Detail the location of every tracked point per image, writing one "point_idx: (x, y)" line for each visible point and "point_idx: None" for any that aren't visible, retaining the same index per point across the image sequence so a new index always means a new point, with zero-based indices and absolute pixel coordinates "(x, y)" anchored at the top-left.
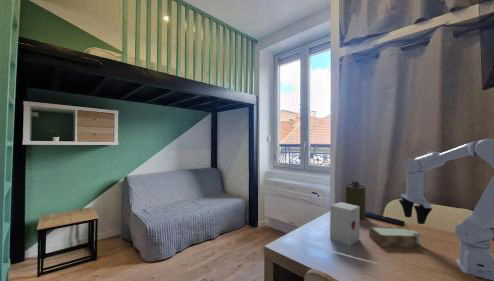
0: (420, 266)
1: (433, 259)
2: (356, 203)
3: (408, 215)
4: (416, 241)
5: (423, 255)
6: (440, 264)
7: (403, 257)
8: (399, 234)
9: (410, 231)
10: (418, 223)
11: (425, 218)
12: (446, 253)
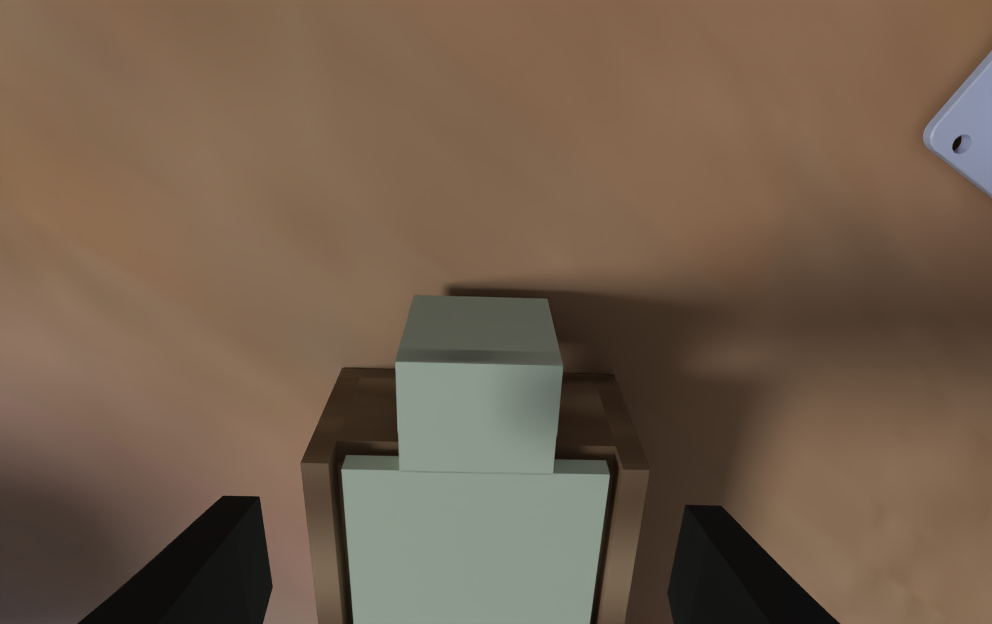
0: (906, 550)
1: (835, 363)
2: None
3: (253, 583)
4: (633, 432)
5: (747, 401)
6: (928, 369)
7: None
8: (562, 619)
9: (451, 431)
10: (678, 591)
11: (814, 621)
12: (744, 88)
